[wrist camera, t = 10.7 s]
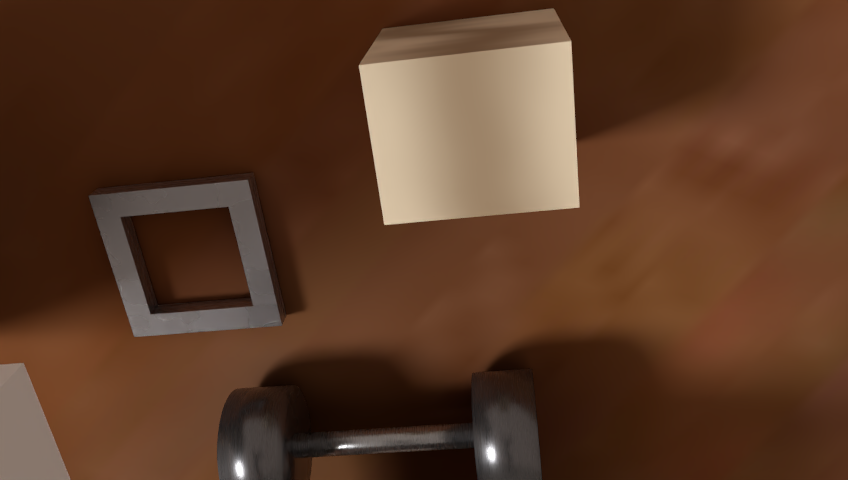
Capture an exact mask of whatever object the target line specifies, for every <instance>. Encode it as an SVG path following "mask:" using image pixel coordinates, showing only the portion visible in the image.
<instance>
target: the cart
mask: <svg viewBox="0 0 848 480" xmlns="http://www.w3.org/2000/svg"><path fill="white" fill-rule="evenodd" d="M472 420H473V423H458V424H441V425H425V426H409V427H392V428H376V429H359V430H343V431H326V432H311V424H310V417H309V412H308V407H307V403H306V400H305V397H304V395H303V393H302V391H301V390H300V388H299V387H298V386H296V385H284V386H270V387H255V388H241V389H236V390H234V391H233V392H232V393H231V394H230V395H229V397H228V398H227V400H226V403H225V405H224V408H223V411H222V415H221V419H220V424H219V431H218V442H217V461H218V472H219V479H220V480H310V475H311V465H312V457H325V456H343V455H360V454H378V453H395V452H413V451H430V450H448V449H465V448H474V449H475V460H476V469H477V478H478V480H542V472H541V460H540V449H539V438H538V426H537V415H536V405H535V394H534V383H533V373H532V369H519V370H504V371H489V372H475V373H473V374H472Z"/></svg>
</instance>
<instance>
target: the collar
mask: <svg viewBox="0 0 848 480" xmlns="http://www.w3.org/2000/svg"><path fill="white" fill-rule="evenodd" d="M89 199H90V202H91V205H92V208H93V212H94V215H95V218H96V221H97V224H98V227H99V230H100V233H101V236H102V239H103V242H104V245H105V248H106V251H107V254H108V258H109V261H110V264H111V267H112V270H113V273H114V276H115V279H116V282H117V285H118V288H119V291H120V294H121V297H122V300H123V303H124V307H125V310H126V313H127V316H128V319H129V322H130V325H131V328H132V331H133V334H134V337H140V336H153V335H166V334H178V333H191V332H204V331H217V330H230V329H243V328H256V327H269V326H282V324H283V322H284V320H285V318H286V312H285V307H284V303H283V299H282V294H281V290H280V286H279V281H278V277H277V273H276V268H275V264H274V260H273V255H272V251H271V247H270V242H269V238H268V234H267V229H266V225H265V221H264V216H263V212H262V208H261V203H260V199H259V195H258V190H257V186H256V182H255V177H254V173H244V174H234V175H224V176H214V177H205V178H195V179H185V180H175V181H165V182H155V183H145V184H135V185H125V186H115V187H106V188H97V189H96V190H95V191H94V192H92V193H91V194H90V195H89ZM220 207H229V211H230V215H231V219H232V223H233V227H234V231H235V235H236V239H237V243H238V247H239V251H240V255H241V259H242V263H243V267H244V271H245V275H246V279H247V283H248V287H249V291H250V295H251V297H248V298H236V299H224V300H212V301H200V302H187V303H175V304H163V305H158V304H157V301H156V297H155V294H154V291H153V288H152V284H151V281H150V278H149V274H148V271H147V268H146V265H145V261H144V258H143V255H142V252H141V248H140V245H139V242H138V239H137V235H136V232H135V229H134V225H133V222H132V219H131V216H137V215H147V214H157V213H168V212H178V211H189V210H199V209H209V208H220Z"/></svg>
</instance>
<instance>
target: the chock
mask: <svg viewBox="0 0 848 480" xmlns="http://www.w3.org/2000/svg"><path fill="white" fill-rule="evenodd" d="M359 70H360V76H361V83H362V89H363V95H364V101H365V108H366V114H367V120H368V126H369V132H370V139H371V145H372V151H373V157H374V164H375V170H376V176H377V182H378V189H379V195H380V201H381V207H382V213H383V220H384V225H389V224H400V223H411V222H423V221H434V220H445V219H456V218H467V217H478V216H489V215H501V214H512V213H523V212H534V211H545V210H556V209H567V208H579V189H578V168H577V148H576V127H575V107H574V86H573V66H572V46H571V40H570V38H569V36H568V34H567V32H566V30H565V28H564V26H563V25H562V23H561V21H560V19H559V17H558V15H557V13H556V11H555V10H554V8H552V9H544V10H535V11H527V12H518V13H510V14H501V15H493V16H484V17H476V18H468V19H459V20H451V21H442V22H434V23H425V24H417V25H408V26H400V27H392V28H383V29H382V30H381V32H380V33H379V35H378V36H377V38H376V40H375V41H374V43H373V44H372V46H371V47H370V49H369V50H368V52H367V53H366V55H365V56H364V58H363V59H362V61H361V62H360V64H359Z"/></svg>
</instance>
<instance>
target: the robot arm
mask: <svg viewBox="0 0 848 480" xmlns="http://www.w3.org/2000/svg"><path fill="white" fill-rule="evenodd" d="M0 480H70V477H69V475H68V472H67V470H66V467H65V465H64V462H63V460H62V457H61V455H60V452H59V450H58V447H57V445H56V443H55V440H54V438H53V435H52V433H51V430H50V428H49V425H48V423H47V420H46V418H45V415H44V413H43V410H42V408H41V405H40V403H39V400H38V398H37V395H36V393H35V390H34V388H33V385H32V383H31V380H30V378H29V375H28V373H27V370H26V368H25V366H24V363H18V364H4V365H0Z"/></svg>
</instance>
